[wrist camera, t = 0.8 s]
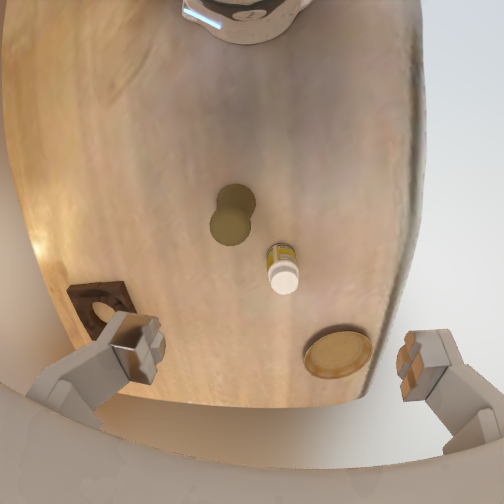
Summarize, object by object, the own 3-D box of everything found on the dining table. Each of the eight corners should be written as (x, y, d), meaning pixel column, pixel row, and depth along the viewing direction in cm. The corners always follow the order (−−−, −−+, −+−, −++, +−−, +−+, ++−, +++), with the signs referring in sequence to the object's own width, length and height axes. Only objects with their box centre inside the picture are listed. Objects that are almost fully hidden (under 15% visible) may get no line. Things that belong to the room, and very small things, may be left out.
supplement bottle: (274, 272, 52) (276, 301, 44) (261, 250, 50) (261, 277, 42) (300, 260, 51) (306, 289, 43) (288, 238, 49) (292, 263, 41)
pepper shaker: (235, 175, 44) (227, 197, 35) (263, 203, 46) (264, 231, 36) (208, 202, 46) (194, 230, 37) (236, 228, 48) (230, 262, 38)
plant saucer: (316, 318, 56) (318, 327, 54) (380, 327, 57) (384, 336, 55) (293, 367, 63) (294, 376, 61) (352, 373, 64) (354, 381, 62)
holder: (69, 284, 55) (65, 289, 53) (123, 280, 54) (119, 286, 52) (95, 335, 62) (91, 341, 60) (146, 335, 60) (144, 342, 58)
